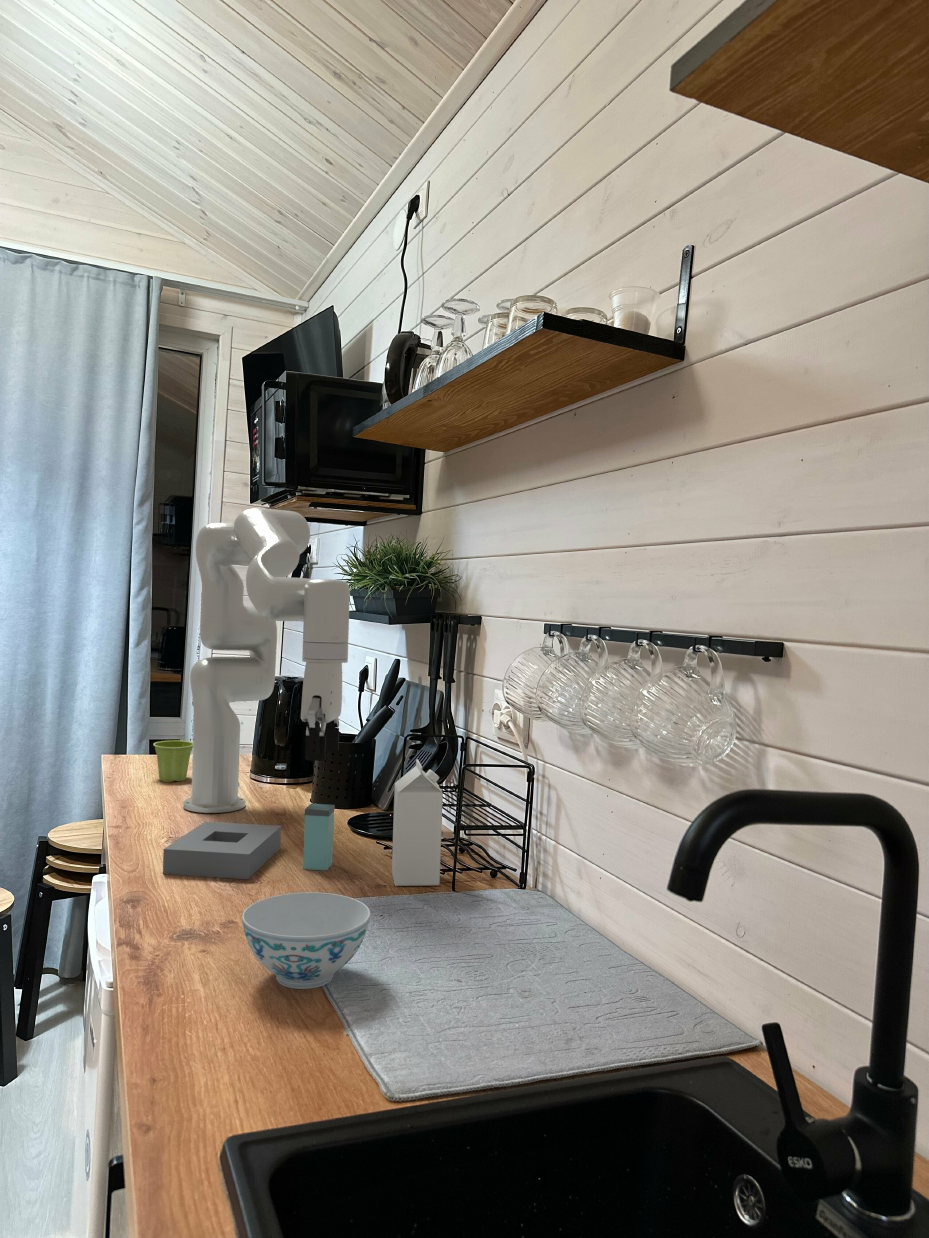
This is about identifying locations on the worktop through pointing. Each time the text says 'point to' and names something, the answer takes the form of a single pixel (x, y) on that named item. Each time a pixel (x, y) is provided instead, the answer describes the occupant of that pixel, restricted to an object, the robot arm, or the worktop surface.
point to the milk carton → (417, 829)
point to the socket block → (222, 850)
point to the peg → (318, 836)
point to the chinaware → (305, 935)
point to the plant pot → (173, 759)
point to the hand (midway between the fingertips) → (322, 755)
